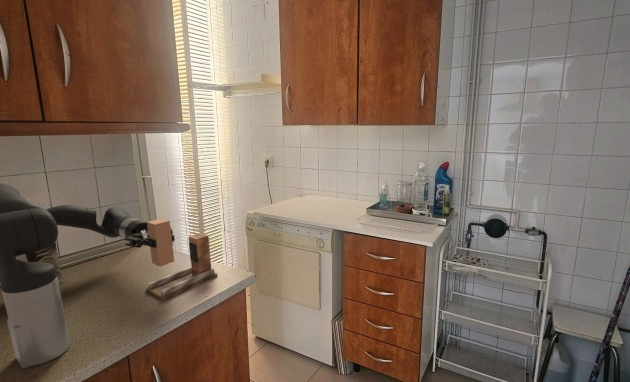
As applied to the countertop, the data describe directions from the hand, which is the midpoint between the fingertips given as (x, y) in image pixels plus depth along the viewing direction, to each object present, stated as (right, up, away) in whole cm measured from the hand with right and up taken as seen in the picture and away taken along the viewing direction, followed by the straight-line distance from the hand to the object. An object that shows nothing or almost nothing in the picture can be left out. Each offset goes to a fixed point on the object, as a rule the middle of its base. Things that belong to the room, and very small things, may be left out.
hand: (164, 241), depth 98 cm
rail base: (+2, -15, +8) cm, 17 cm away
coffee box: (-42, -16, +7) cm, 45 cm away
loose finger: (-1, -7, +2) cm, 7 cm away
